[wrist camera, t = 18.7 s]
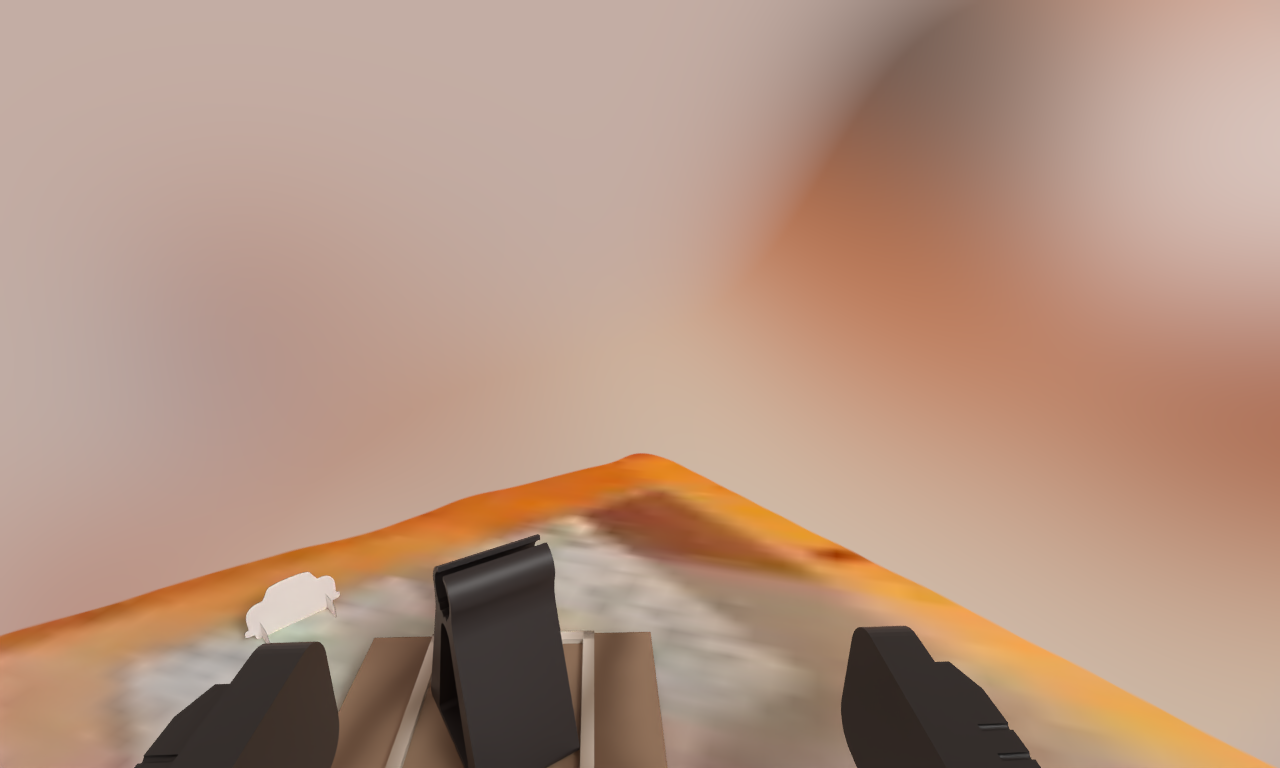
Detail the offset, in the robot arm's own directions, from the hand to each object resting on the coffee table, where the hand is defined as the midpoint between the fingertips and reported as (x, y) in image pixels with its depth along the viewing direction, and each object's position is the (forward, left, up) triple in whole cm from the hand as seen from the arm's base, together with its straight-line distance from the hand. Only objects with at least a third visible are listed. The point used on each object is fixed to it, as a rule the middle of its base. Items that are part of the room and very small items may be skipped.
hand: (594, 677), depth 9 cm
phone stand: (+5, -21, -25) cm, 33 cm away
